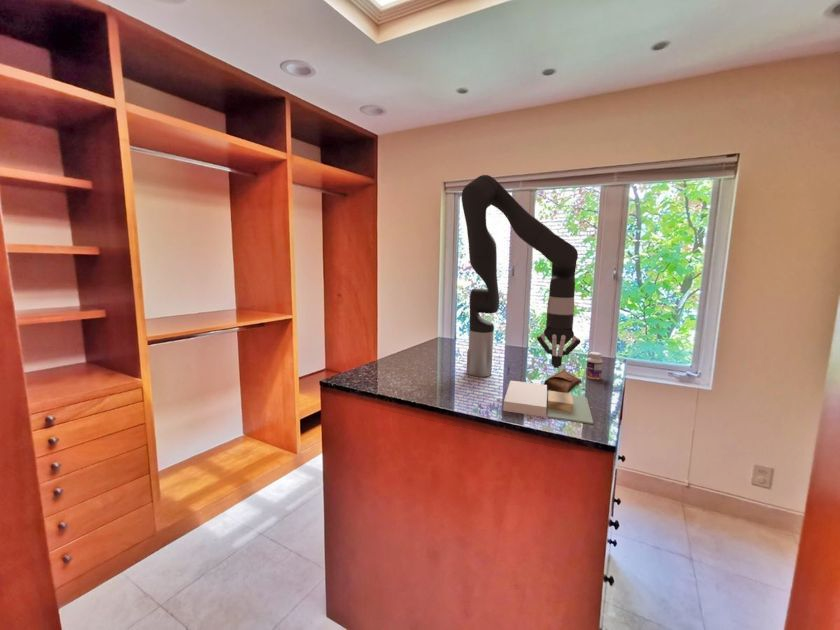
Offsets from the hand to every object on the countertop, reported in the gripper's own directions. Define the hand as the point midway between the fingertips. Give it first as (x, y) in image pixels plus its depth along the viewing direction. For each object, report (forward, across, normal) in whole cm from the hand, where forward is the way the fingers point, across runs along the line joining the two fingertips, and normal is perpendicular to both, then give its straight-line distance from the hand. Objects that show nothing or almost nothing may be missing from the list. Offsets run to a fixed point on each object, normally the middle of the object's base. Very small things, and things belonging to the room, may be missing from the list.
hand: (556, 367), depth 114 cm
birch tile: (+12, +2, -1) cm, 12 cm away
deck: (+12, -8, -1) cm, 15 cm away
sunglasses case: (+13, +4, +21) cm, 25 cm away
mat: (+12, +4, -1) cm, 13 cm away
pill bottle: (+13, +16, +34) cm, 39 cm away
